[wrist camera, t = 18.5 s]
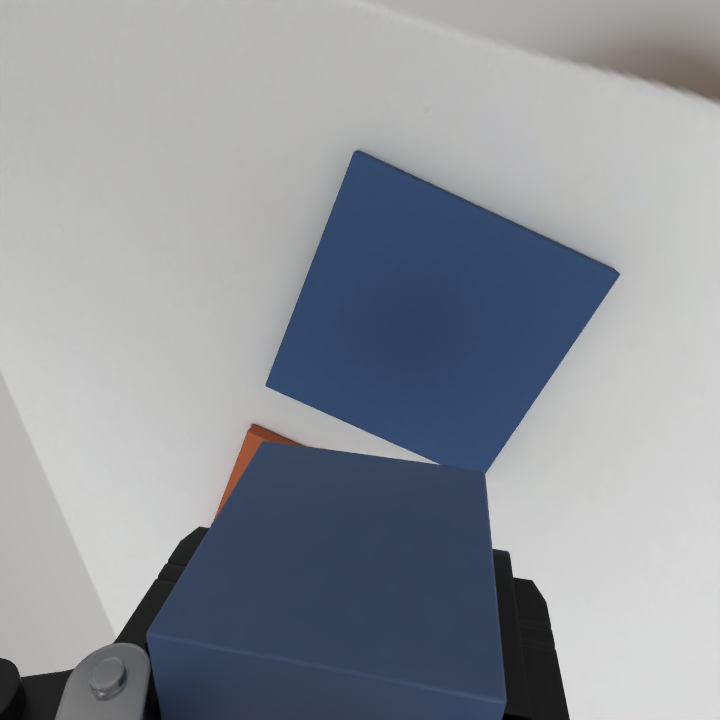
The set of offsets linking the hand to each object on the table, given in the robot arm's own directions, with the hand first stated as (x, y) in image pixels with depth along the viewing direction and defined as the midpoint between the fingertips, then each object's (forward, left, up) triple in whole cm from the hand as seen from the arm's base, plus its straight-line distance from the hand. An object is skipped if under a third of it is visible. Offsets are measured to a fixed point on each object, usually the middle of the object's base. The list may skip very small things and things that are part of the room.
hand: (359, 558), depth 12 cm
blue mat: (+1, +1, -14) cm, 14 cm away
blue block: (0, 0, -1) cm, 1 cm away
